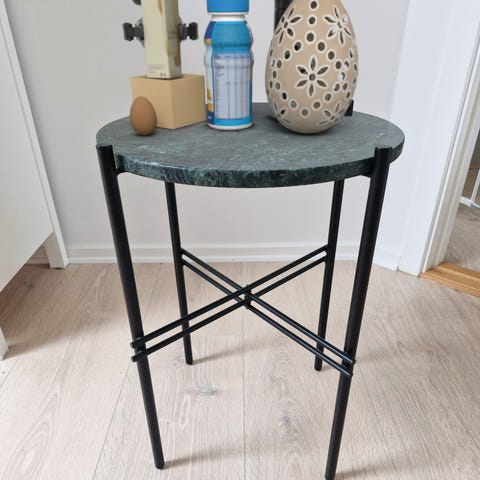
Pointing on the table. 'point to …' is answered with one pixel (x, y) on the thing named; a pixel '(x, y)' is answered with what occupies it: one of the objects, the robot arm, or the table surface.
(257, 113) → the table surface
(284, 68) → the ornament
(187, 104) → the open box
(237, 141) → the table surface
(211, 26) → the beverage bottle
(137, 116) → the egg
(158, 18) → the cosmetic box
